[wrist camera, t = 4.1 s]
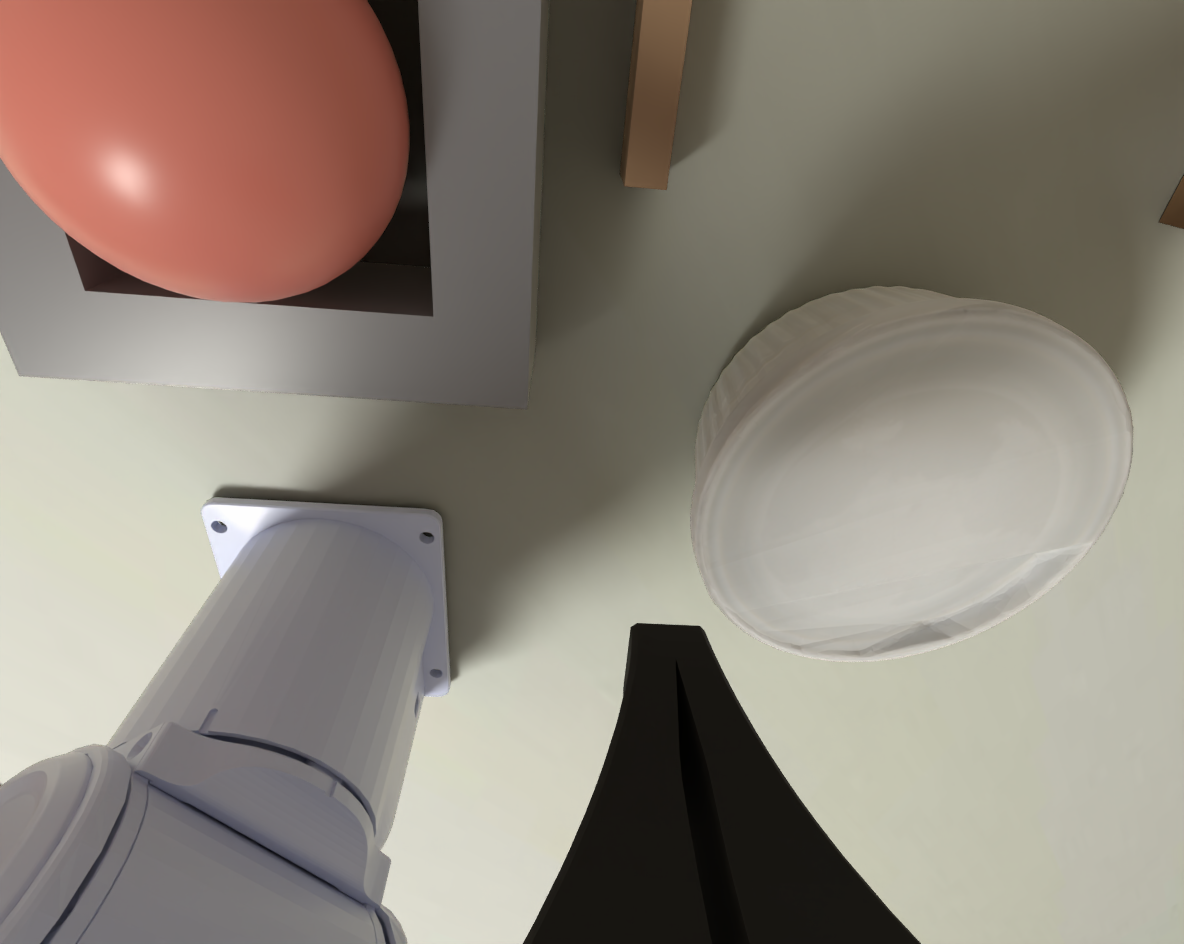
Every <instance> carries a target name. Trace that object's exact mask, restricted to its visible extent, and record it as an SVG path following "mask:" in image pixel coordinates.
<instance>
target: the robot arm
mask: <svg viewBox="0 0 1184 944" xmlns="http://www.w3.org/2000/svg"><path fill="white" fill-rule="evenodd" d="M201 515H202V518H203V521H204V525H205V528H206V531H207V535H208V538H209V541H210V545H211V548H212V551H213V555H214V558H215V561H216V565H217V568H218V571H219V575H220V578H221V580H220V581H219V583H218V584H217V586H216V587H215V588H214V590H213V591H212V593H211V594H210V596H209V597H208V599H207V600H206V601H205V603H204V604H203V606H202V607H201V609H200V610H199V612H198V613H197V615H196V616H195V617H194V619H193V620H192V622H191V623H190V625H189V626H188V628H187V629H186V631H185V632H184V633H183V635H182V636H181V638H180V639H179V641H178V642H177V644H176V645H175V646H174V648H173V649H172V651H171V652H170V654H169V655H168V657H167V658H166V660H165V661H164V662H163V664H162V665H161V667H160V668H159V670H158V671H157V673H156V674H155V675H154V677H153V678H152V680H151V681H150V683H149V684H148V686H147V687H146V689H145V690H144V691H143V693H142V694H141V696H140V697H139V699H138V700H137V702H136V703H135V705H134V706H133V707H132V709H131V710H130V712H129V713H128V715H127V716H126V718H125V719H124V720H123V722H122V723H121V725H120V726H119V728H118V729H117V731H116V732H115V734H114V735H113V736H112V738H111V739H110V741H109V742H108V744H107V745H106V746H104V745H98V744H92V745H88V746H84V747H81V748H77V749H75V750H73V751H71V752H69V753H66V754H63V755H59V756H55V757H52V758H48V759H45V760H42V761H40V762H38V763H35V764H33V765H32V766H30V767H28V768H26V769H25V770H23V771H21V772H20V773H18V774H17V775H15V776H14V777H12V778H11V779H10V780H8V781H7V782H6V783H4V784H3V785H2V786H0V944H408V943H407V938H406V936H405V934H404V931H403V929H402V926H401V924H400V923H399V921H398V920H397V919H396V917H395V916H394V914H393V913H392V912H391V911H390V910H389V909H387V908H386V907H385V906H383V905H382V904H381V903H382V898H383V894H384V890H385V885H386V881H387V877H388V873H389V868H390V864H391V859H390V858H389V857H388V856H386V855H385V854H384V853H382V852H381V851H380V850H381V849H382V847H383V846H384V844H385V842H386V840H387V838H388V835H389V833H390V831H391V828H392V825H393V822H394V818H395V814H396V810H397V806H398V802H399V797H400V793H401V789H402V785H403V781H404V777H405V772H406V768H407V764H408V760H409V756H410V752H411V747H412V743H413V739H414V735H415V731H416V727H417V723H418V718H419V714H420V710H421V706H422V702H423V698H424V696H433V697H439V696H444V695H446V694H447V693H448V692H449V689H450V684H451V679H450V659H449V640H448V620H447V600H446V581H445V561H444V541H443V521H442V518H441V516H440V515H439V514H438V513H437V512H435V511H434V510H430V509H421V508H403V507H385V506H367V505H349V504H331V503H313V502H294V501H276V500H258V499H240V498H222V497H215V498H211V499H209V500H207V501H206V503H205V504H204V505H203V506H202V508H201ZM218 521H220V522H223V523H224V524H225V525H226V526H223V525H221V524H219V523H218ZM422 532H429V533H431V534H432V535H433V536H432V537H428V536H425V535H424V534H423V533H422ZM436 669H439V670H436ZM523 944H921V943H920V942H919V941H918V940H917V939H916V938H915V937H914V936H913V935H912V933H911V932H910V931H909V930H908V929H907V928H906V927H905V926H904V925H903V924H902V923H901V922H900V921H899V919H898V918H897V917H896V916H895V915H894V914H893V913H892V912H891V911H890V910H889V909H888V907H887V906H886V905H885V904H884V903H883V902H882V900H881V899H880V898H879V897H878V896H877V895H876V893H875V892H874V891H873V890H872V889H871V888H870V886H869V885H868V884H867V883H866V882H865V881H864V879H863V878H862V877H861V876H860V875H859V874H858V872H857V871H856V870H855V869H854V868H853V867H852V865H851V864H850V863H849V862H848V861H847V860H846V859H845V857H844V856H843V855H842V854H841V852H840V851H839V850H838V849H837V847H836V846H835V845H834V843H833V842H832V841H831V840H830V838H829V837H828V836H827V834H826V833H825V832H824V831H823V829H822V828H821V827H820V826H819V824H818V823H817V822H816V820H815V819H814V817H813V816H812V815H811V813H810V812H809V811H808V809H807V808H806V807H805V805H804V804H803V803H802V801H801V800H800V798H799V797H798V796H797V794H796V793H795V791H794V790H793V788H792V787H791V786H790V784H789V783H788V781H787V780H786V778H785V777H784V775H783V774H782V772H781V771H780V769H779V768H778V766H777V764H776V763H775V761H774V760H773V758H772V757H771V755H770V754H769V752H768V751H767V749H766V747H765V746H764V744H763V742H762V741H761V739H760V738H759V736H758V734H757V733H756V731H755V729H754V727H753V726H752V724H751V722H750V720H749V719H748V717H747V715H746V714H745V712H744V710H743V708H742V707H741V705H740V703H739V701H738V699H737V698H736V696H735V694H734V692H733V690H732V688H731V686H730V684H729V682H728V680H727V679H726V677H725V675H724V673H723V671H722V669H721V667H720V665H719V662H718V660H717V658H716V656H715V654H714V652H713V650H712V647H711V645H710V643H709V641H708V638H707V636H706V633H705V631H704V630H703V629H702V628H701V627H700V626H689V625H666V624H643V623H637V624H635V625H634V626H632V627H631V630H630V638H629V646H628V655H627V663H626V671H625V679H624V687H623V700H622V704H621V708H620V713H619V717H618V720H617V724H616V727H615V730H614V734H613V737H612V740H611V743H610V746H609V749H608V753H607V756H606V759H605V762H604V765H603V768H602V771H601V773H600V776H599V779H598V782H597V784H596V787H595V790H594V792H593V795H592V798H591V800H590V803H589V805H588V808H587V810H586V813H585V815H584V818H583V820H582V822H581V825H580V827H579V829H578V832H577V834H576V836H575V839H574V841H573V843H572V846H571V848H570V850H569V852H568V854H567V857H566V859H565V861H564V863H563V865H562V868H561V870H560V872H559V874H558V876H557V878H556V880H555V882H554V884H553V886H552V888H551V890H550V892H549V894H548V896H547V898H546V900H545V902H544V904H543V906H542V908H541V910H540V912H539V914H538V916H537V918H536V920H535V922H534V924H533V926H532V928H531V930H530V932H529V933H528V935H527V937H526V939H525V941H524V943H523Z"/></svg>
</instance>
